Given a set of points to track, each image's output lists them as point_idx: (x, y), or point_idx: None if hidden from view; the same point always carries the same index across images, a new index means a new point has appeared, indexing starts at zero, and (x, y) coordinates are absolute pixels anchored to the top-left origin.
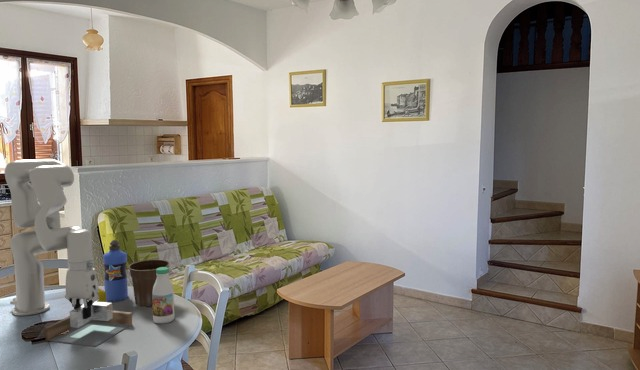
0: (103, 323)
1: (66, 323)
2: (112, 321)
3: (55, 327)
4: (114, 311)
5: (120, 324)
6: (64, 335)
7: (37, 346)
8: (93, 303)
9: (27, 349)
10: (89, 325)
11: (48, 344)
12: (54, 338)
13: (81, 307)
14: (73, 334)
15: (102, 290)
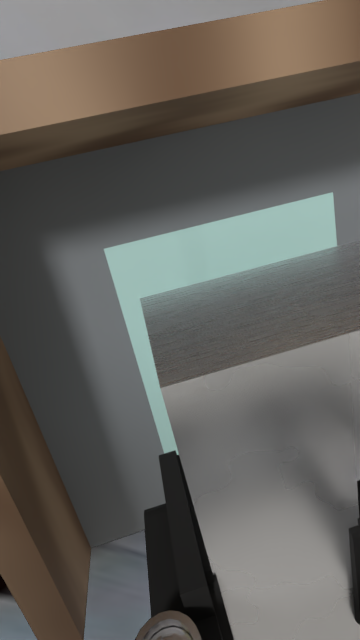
0: (163, 173)
1: (20, 463)
2: (229, 117)
3: (62, 570)
4: (281, 41)
5: (316, 118)
6: (108, 470)
7: (103, 598)
8: (348, 431)
9: (93, 635)
10: (92, 267)
11: (132, 558)
12: (97, 524)
13: (290, 610)
14: (147, 431)
15: None
